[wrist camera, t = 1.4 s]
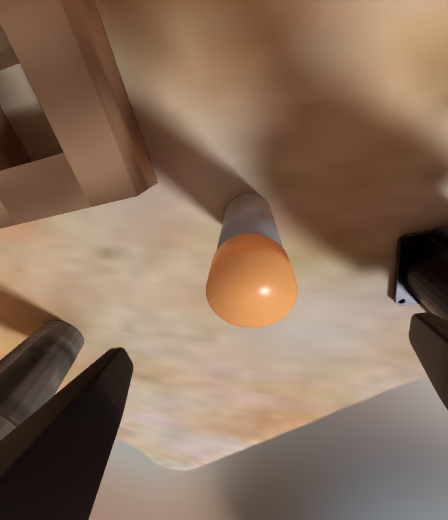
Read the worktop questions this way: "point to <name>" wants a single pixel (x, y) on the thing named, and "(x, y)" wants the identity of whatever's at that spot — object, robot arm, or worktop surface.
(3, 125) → the socket block
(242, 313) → the peg
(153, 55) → the worktop surface
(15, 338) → the worktop surface
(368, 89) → the worktop surface
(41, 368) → the beverage cup
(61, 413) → the robot arm
